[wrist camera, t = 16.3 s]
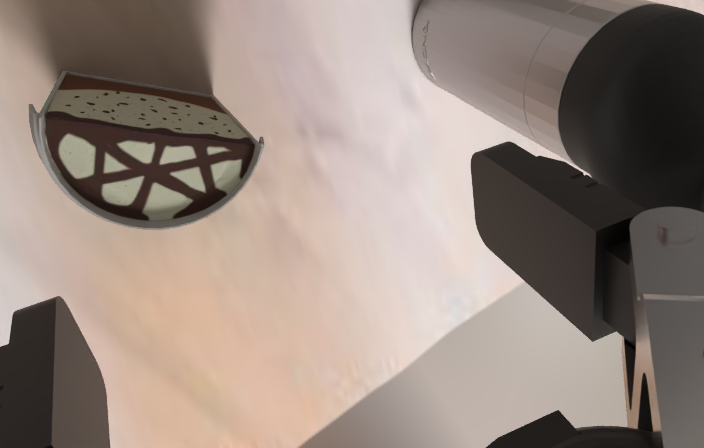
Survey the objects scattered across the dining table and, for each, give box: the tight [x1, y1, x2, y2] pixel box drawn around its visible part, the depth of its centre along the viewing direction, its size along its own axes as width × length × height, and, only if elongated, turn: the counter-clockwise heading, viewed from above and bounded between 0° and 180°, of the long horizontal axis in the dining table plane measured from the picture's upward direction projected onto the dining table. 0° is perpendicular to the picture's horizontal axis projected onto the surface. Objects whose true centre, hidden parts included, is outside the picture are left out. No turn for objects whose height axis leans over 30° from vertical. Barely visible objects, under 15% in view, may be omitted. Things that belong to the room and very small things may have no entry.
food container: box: [29, 70, 264, 230], centre depth 39 cm, size 12×6×10 cm, turn 74°
